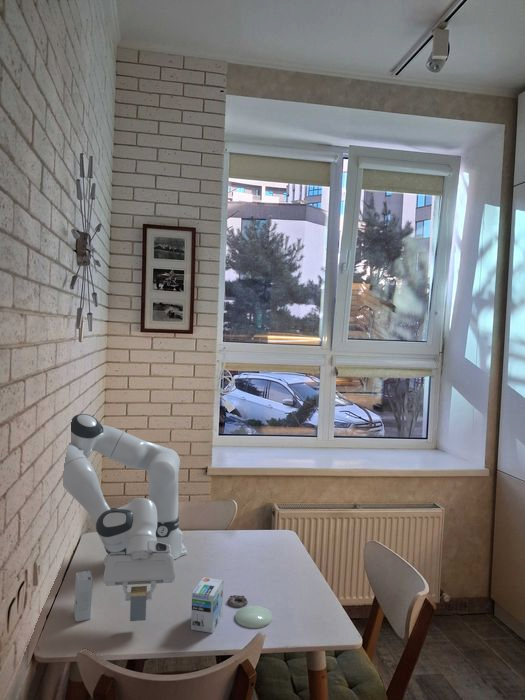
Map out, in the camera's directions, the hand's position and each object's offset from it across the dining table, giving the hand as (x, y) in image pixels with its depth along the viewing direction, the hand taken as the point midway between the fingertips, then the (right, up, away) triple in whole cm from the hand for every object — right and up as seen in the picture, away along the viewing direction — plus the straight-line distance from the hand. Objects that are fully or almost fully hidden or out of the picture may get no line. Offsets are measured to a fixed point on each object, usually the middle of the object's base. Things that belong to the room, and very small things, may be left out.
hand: (138, 599), depth 149 cm
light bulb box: (+19, -10, +6) cm, 22 cm away
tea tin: (0, -5, +1) cm, 5 cm away
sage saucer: (+32, -10, +9) cm, 35 cm away
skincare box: (-18, -8, +7) cm, 21 cm away
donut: (+27, -10, +18) cm, 34 cm away
